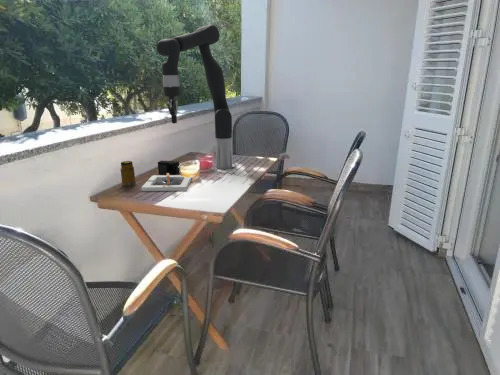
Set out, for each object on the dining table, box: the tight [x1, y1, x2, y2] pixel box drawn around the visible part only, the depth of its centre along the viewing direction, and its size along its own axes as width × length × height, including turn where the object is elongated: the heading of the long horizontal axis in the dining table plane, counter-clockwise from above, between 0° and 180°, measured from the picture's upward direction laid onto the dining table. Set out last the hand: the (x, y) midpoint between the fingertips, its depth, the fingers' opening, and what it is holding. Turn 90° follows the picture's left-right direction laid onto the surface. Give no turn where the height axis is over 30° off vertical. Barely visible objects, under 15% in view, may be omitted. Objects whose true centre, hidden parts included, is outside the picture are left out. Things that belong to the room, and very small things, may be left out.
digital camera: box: [157, 160, 180, 175], centre depth 188 cm, size 10×5×7 cm, turn 76°
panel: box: [141, 174, 192, 192], centre depth 169 cm, size 20×20×3 cm
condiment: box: [120, 160, 136, 188], centre depth 167 cm, size 7×8×12 cm
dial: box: [155, 173, 181, 185], centre depth 168 cm, size 12×11×6 cm
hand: (174, 123), depth 169 cm, fingers closed
